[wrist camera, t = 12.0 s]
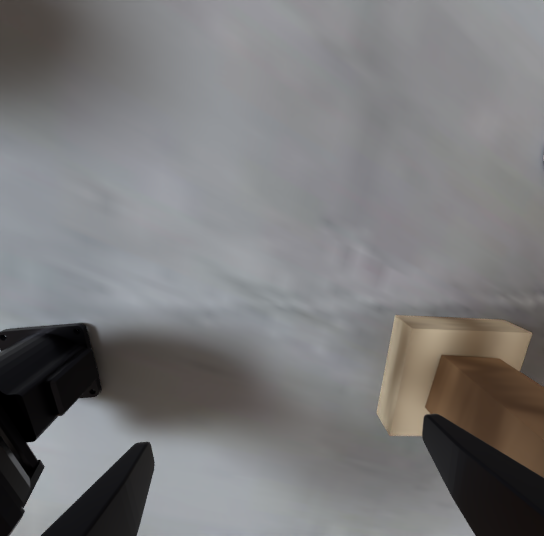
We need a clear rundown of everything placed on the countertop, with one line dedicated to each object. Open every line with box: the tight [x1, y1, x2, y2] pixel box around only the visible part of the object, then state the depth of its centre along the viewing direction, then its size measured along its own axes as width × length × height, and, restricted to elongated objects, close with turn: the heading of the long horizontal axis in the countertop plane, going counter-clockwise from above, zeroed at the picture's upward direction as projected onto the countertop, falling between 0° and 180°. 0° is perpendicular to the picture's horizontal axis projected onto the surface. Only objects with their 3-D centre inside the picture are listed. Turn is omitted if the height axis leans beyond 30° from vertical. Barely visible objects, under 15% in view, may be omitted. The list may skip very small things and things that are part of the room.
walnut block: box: [425, 355, 544, 478], centre depth 15 cm, size 5×5×12 cm
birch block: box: [377, 315, 532, 436], centre depth 23 cm, size 10×10×3 cm
